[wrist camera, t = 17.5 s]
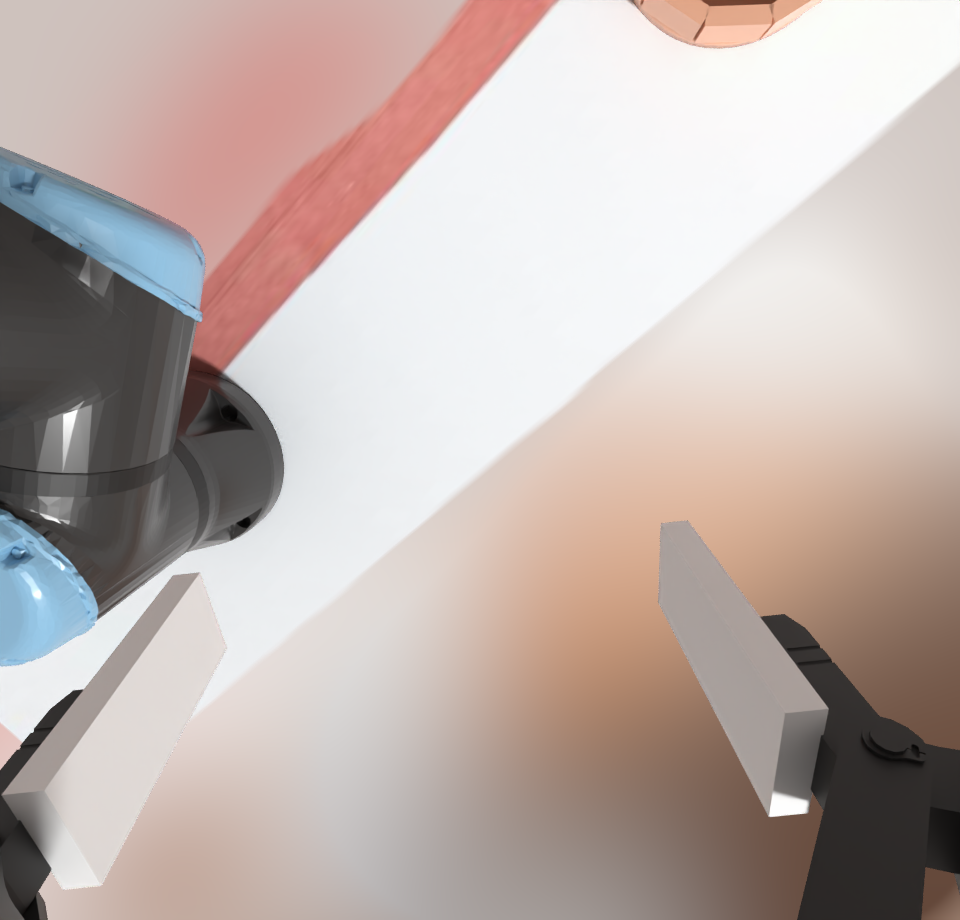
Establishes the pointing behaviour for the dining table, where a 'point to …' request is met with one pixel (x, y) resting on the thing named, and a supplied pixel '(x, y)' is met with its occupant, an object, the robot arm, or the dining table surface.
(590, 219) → the dining table surface
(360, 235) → the dining table surface
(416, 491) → the dining table surface
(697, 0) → the dish
